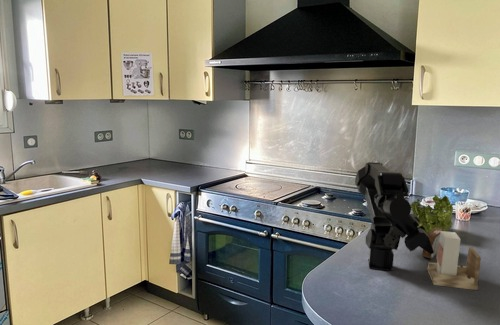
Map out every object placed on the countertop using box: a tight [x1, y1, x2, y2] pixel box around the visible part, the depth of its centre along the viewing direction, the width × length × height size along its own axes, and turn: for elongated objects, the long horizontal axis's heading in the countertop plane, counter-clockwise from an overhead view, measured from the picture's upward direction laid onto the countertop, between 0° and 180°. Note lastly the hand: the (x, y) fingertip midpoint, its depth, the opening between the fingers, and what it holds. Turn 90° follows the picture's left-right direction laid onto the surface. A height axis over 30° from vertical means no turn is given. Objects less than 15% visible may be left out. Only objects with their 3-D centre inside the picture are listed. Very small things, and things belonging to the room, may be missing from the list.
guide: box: [426, 246, 482, 291], centre depth 119 cm, size 11×10×9 cm
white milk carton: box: [435, 231, 462, 276], centre depth 119 cm, size 4×6×12 cm
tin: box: [422, 228, 444, 260], centre depth 137 cm, size 15×3×8 cm, turn 141°
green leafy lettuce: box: [410, 194, 454, 235], centre depth 158 cm, size 18×16×16 cm
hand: (432, 253), depth 120 cm, fingers closed
